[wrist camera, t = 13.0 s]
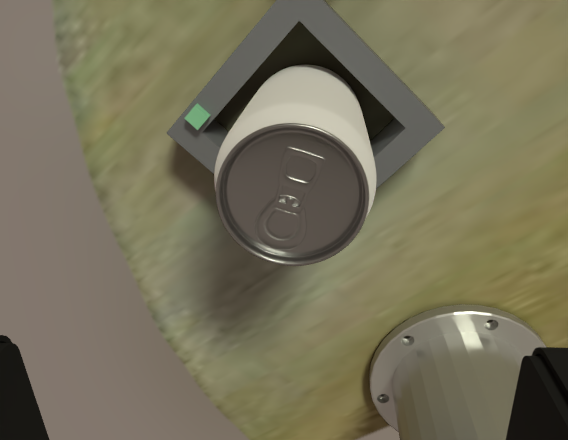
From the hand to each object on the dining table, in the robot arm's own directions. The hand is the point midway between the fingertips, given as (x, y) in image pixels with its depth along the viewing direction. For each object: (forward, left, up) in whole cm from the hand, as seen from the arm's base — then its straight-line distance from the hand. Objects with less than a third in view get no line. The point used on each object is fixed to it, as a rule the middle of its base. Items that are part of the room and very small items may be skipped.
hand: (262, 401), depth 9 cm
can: (0, 0, -22) cm, 22 cm away
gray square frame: (0, 0, -22) cm, 22 cm away
